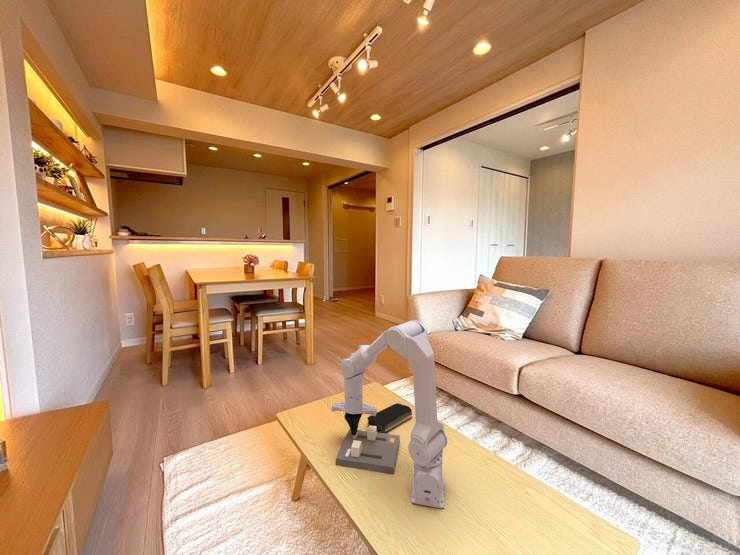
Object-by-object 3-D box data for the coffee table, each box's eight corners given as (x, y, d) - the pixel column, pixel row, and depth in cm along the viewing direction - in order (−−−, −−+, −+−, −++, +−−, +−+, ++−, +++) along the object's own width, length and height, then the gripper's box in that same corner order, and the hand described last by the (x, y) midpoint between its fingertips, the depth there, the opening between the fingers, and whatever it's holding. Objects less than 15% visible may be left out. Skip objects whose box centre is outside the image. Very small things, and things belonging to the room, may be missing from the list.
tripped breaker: (374, 440, 93) (374, 432, 93) (367, 439, 94) (367, 431, 93) (376, 434, 96) (376, 426, 96) (369, 433, 97) (369, 425, 96)
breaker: (359, 457, 86) (358, 448, 86) (351, 456, 87) (351, 446, 86) (361, 450, 89) (361, 441, 89) (354, 449, 90) (353, 440, 89)
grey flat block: (393, 474, 83) (393, 467, 82) (335, 464, 86) (335, 458, 86) (399, 441, 96) (399, 435, 96) (349, 434, 100) (349, 428, 100)
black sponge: (381, 437, 99) (381, 427, 98) (365, 425, 105) (365, 416, 105) (414, 418, 109) (414, 409, 109) (398, 408, 116) (398, 400, 115)
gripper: (378, 389, 97) (378, 428, 98) (336, 385, 100) (337, 423, 102) (373, 400, 90) (374, 442, 92) (328, 396, 93) (330, 436, 95)
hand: (354, 433), depth 96 cm, fingers closed
